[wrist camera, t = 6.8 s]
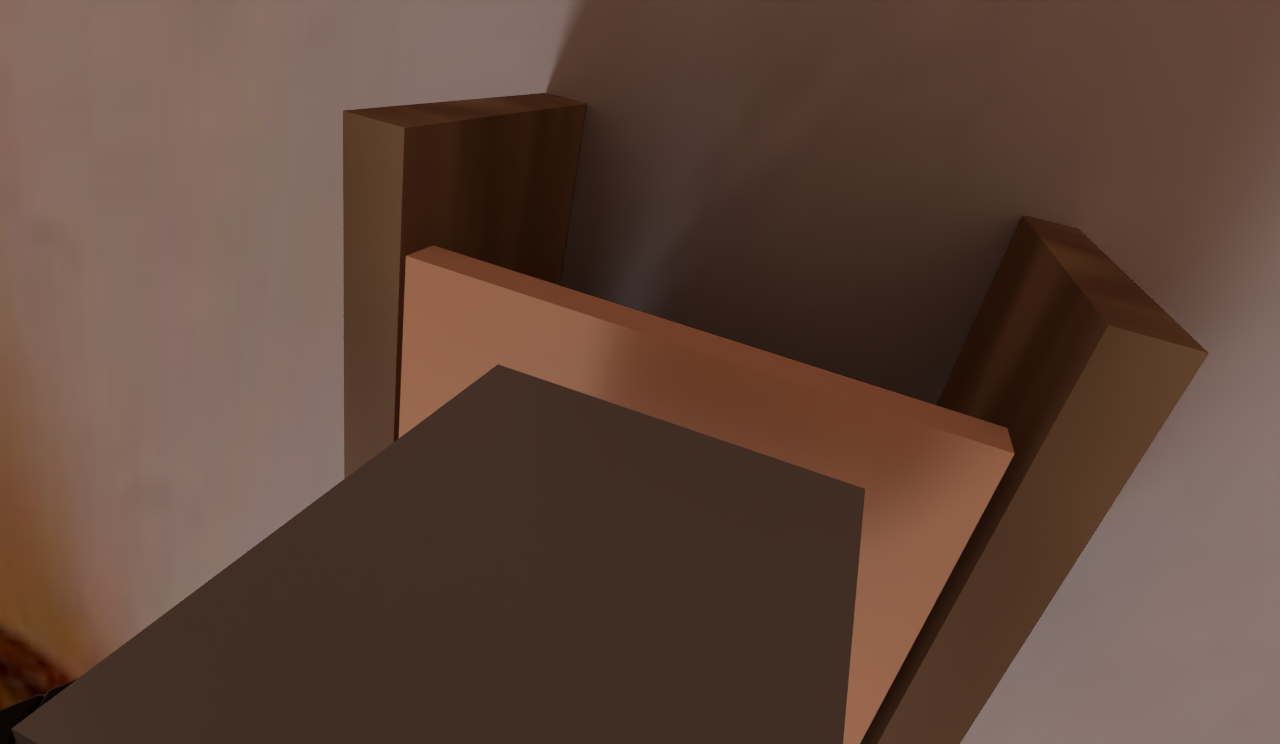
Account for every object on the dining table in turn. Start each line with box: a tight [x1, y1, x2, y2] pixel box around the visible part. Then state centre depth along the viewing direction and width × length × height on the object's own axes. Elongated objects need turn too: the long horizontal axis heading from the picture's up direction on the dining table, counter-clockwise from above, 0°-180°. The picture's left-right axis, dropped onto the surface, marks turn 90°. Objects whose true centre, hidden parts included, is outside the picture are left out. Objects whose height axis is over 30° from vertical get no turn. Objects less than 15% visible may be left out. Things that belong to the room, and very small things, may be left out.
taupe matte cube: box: [12, 364, 865, 744], centre depth 8 cm, size 5×5×6 cm
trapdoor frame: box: [343, 93, 1208, 744], centre depth 17 cm, size 14×15×8 cm
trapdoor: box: [399, 245, 1015, 744], centre depth 16 cm, size 10×11×5 cm
